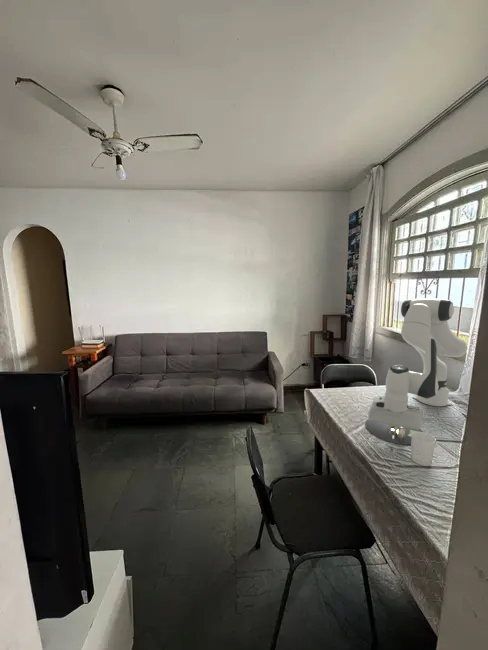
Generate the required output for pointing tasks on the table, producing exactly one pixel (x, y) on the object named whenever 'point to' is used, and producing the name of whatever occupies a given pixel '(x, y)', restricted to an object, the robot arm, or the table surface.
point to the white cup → (422, 448)
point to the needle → (400, 433)
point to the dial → (384, 432)
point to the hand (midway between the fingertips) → (392, 433)
